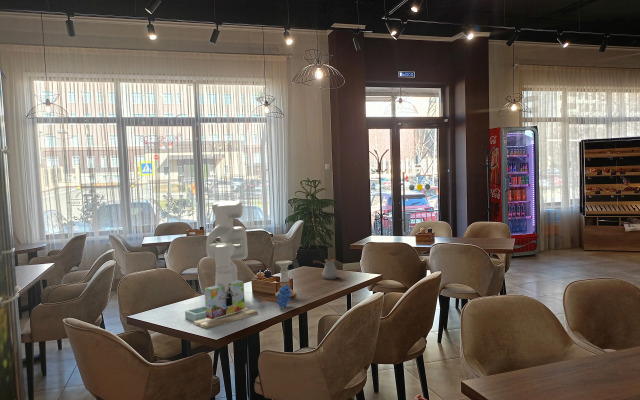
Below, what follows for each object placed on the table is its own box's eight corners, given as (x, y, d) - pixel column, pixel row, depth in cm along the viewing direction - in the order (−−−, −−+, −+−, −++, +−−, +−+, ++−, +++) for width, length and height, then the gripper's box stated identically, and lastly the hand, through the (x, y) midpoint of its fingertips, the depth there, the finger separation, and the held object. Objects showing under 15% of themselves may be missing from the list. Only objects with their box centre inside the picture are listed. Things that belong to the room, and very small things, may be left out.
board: (193, 324, 227) (193, 321, 227) (244, 310, 248) (244, 307, 248) (206, 328, 218) (205, 325, 218) (257, 314, 239) (257, 311, 239)
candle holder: (298, 296, 272) (296, 262, 271) (277, 298, 268) (275, 264, 268) (293, 291, 284) (291, 259, 283) (273, 294, 280) (271, 261, 279)
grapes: (285, 303, 257) (284, 282, 257) (294, 304, 253) (293, 283, 253) (271, 308, 248) (270, 286, 247) (281, 310, 244) (280, 287, 243)
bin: (185, 318, 238) (184, 310, 237) (228, 307, 255) (228, 300, 255) (195, 322, 230) (195, 314, 229) (240, 310, 247) (239, 303, 247)
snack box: (212, 319, 223) (210, 289, 223) (205, 318, 227) (203, 287, 226) (245, 309, 240) (243, 280, 239) (238, 307, 243) (236, 279, 243)
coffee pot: (329, 275, 326) (328, 254, 325) (342, 277, 318) (341, 255, 318) (308, 281, 310) (307, 259, 310) (321, 283, 302) (320, 260, 302)
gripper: (208, 268, 236) (210, 303, 237) (226, 272, 223) (228, 309, 224) (221, 266, 241) (223, 300, 242) (239, 269, 228) (241, 305, 229)
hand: (225, 304), depth 233 cm, fingers closed on snack box, 6 cm apart
